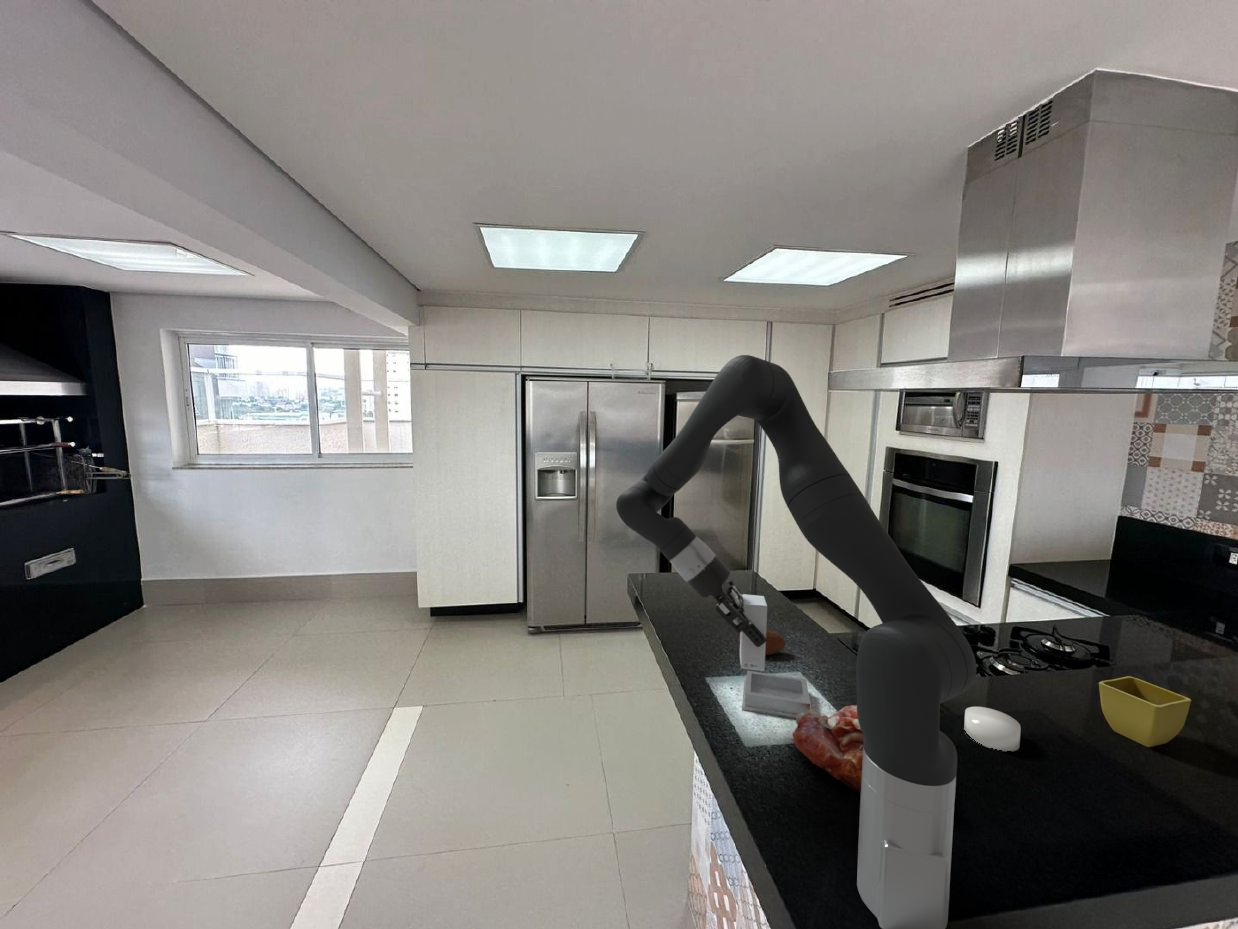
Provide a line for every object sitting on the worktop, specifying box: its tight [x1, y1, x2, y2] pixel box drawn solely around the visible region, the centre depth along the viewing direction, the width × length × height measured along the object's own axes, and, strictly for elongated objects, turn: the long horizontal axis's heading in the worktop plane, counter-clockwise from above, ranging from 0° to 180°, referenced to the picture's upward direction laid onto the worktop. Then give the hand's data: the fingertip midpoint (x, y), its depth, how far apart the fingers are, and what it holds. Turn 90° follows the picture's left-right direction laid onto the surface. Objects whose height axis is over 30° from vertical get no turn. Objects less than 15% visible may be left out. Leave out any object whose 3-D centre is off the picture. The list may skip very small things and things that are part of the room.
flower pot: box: [1098, 675, 1192, 748], centre depth 89 cm, size 9×9×9 cm
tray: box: [741, 670, 812, 719], centre depth 101 cm, size 11×13×3 cm
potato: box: [737, 628, 786, 656], centre depth 122 cm, size 6×12×6 cm, turn 87°
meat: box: [791, 704, 863, 794], centre depth 83 cm, size 21×21×10 cm
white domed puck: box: [963, 706, 1022, 752], centre depth 89 cm, size 8×8×4 cm
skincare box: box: [739, 593, 768, 672], centre depth 91 cm, size 6×4×12 cm
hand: (762, 636), depth 91 cm, fingers closed on skincare box, 6 cm apart
